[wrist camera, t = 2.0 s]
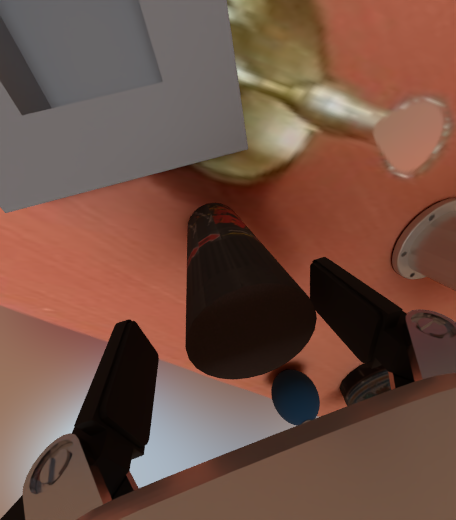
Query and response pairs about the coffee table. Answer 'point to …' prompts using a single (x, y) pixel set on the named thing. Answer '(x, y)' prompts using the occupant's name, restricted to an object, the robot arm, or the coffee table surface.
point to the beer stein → (364, 383)
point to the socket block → (112, 93)
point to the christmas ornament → (295, 397)
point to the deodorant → (239, 300)
